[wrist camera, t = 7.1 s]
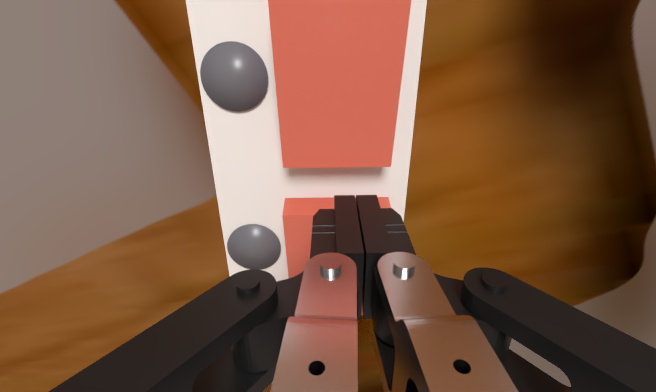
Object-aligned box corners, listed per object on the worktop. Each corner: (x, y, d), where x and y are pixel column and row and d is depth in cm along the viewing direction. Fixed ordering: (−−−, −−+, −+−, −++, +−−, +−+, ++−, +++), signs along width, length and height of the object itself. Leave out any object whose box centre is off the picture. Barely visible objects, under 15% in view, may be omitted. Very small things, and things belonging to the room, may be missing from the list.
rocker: (388, 196, 20) (393, 214, 19) (376, 296, 25) (378, 315, 24) (284, 197, 20) (282, 215, 19) (294, 297, 25) (292, 316, 24)
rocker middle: (406, -27, 15) (414, -24, 14) (386, 152, 21) (390, 166, 19) (270, -27, 15) (265, -24, 14) (285, 153, 21) (282, 167, 19)
